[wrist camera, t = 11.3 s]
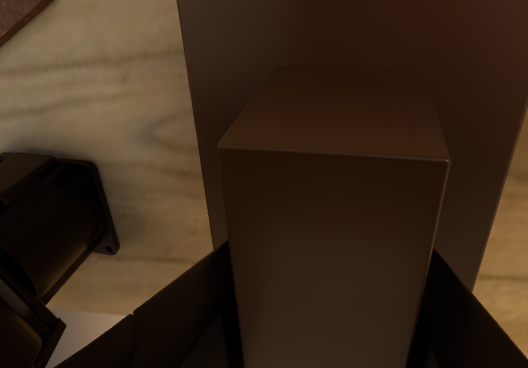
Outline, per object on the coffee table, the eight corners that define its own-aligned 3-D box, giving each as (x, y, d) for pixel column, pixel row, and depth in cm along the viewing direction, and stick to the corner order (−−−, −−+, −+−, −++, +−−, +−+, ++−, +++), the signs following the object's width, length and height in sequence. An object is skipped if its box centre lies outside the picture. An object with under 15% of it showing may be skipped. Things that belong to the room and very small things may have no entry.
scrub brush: (431, 315, 13) (460, 547, 8) (252, 290, 14) (188, 478, 9) (514, -45, 8) (728, 11, 3) (224, -34, 9) (48, 19, 4)
